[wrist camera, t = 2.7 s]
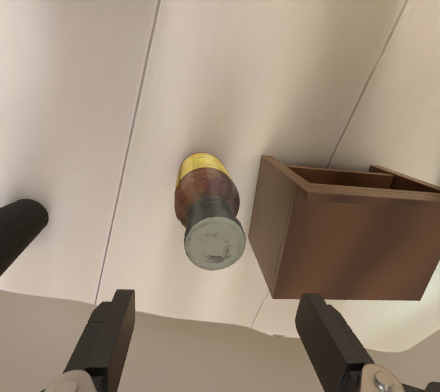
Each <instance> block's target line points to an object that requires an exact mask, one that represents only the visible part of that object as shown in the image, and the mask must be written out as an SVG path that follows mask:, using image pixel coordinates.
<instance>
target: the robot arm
mask: <svg viewBox="0 0 440 392" xmlns="http://www.w3.org/2000/svg"><path fill="white" fill-rule="evenodd" d="M134 323H135V290H125V289H117V290H116V292H115V295H114V297H113V300H112V302H102V303H101V304H100V305H99V306H98V307H97V308H96V309H95V310H94V311H93V312H92V314H91V316H90V318H89V321H88V324H87V325H86V327H85V329H84V332H83V333H82V335H81V337H80V339H79V341H78V343H77V345H76V348H75V350H74V352H73V354H72V356H71V358H70V360H69V362H68V364H67V366H66V368H65V370H64V372H63V373H62V375H60V376H58V377H57V378H56V379H54V380H53V381H52V382H51V383H50V384H49V385H48V387H47V388H46V389H45V390H43V391H41V392H117V389H118V386H119V382H120V378H121V374H122V371H123V367H124V363H125V359H126V356H127V352H128V348H129V344H130V341H131V337H132V333H133V329H134ZM295 323H296V329H297V331H298V334H299V336H300V338H301V340H302V343H303V345H304V347H305V349H306V351H307V354H308V356H309V358H310V360H311V362H312V365H313V367H314V369H315V371H316V374H317V376H318V378H319V380H320V383H321V385H322V387H323V389H324V391H325V392H440V383H439V382H431V383H429V384H428V385H427V387H426V389H425V390H422V389H418V388H415V387H412V386H409V385H405V384H402V383H401V382H400V381H399V380H398V379H397V377H396V376H394V374H392V373H391V372H390V371H388V370H387V369H386V368H384V367H382V366H379V365H377V364H375V363H374V361H373V360H372V358H371V357H370V356H369V354H368V353H367V351H366V350H365V348H364V347H363V345H362V344H361V343H360V341H359V340H358V338H357V337H356V335H355V334H354V333H353V332H352V330H351V328H350V327H349V325H347V322H346V321H345V319H344V318H343V317H342V315H341V314H340V313H339V312H338V311H337V310H336V309H335V308H334V307H332V306H331V305H327V304H326V302H325V301H324V299H323V298H322V296H321V295H320V294H318V293H303V294H302V295H301V299H300V302H299V306H298V310H297V314H296V318H295Z"/></svg>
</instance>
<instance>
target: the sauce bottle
mask: <svg viewBox="0 0 440 392" xmlns="http://www.w3.org/2000/svg"><path fill="white" fill-rule="evenodd" d="M239 205H240V199H239V194H238V191H237V188H236V186H235V184H234V183H233V181H232V179H231V178H230V176H229V175H228V173H227V171H226V170H225V168H224V166H223V165H222V163H221V162H220V161H219V160H218V159H217V158H216V157H214V156H213V155H210V154H208V153H194V154H193V155H191V156H189V157H188V158H187V159H186V160H184V162H183V163H182V164H181V166H180V169H179V172H178V177H177V183H176V190H175V213H176V216H177V218H178V220H180V221H181V223H182V225H183V226H184V227H185V228H186V231H185V238H184V246H185V251H186V254H187V256H188V257H189V259H190V261H191V262H192V263H194V264H195V265H196V266H198V267H200V268H202V269H206V270H212V271H213V270H220V269H223V268H226V267H228V266H230V265H232V264H234V263H235V262H236V261H237V260H239V258H240V257H241V256H242V254H243V251H244V249H245V240H246V238H245V234H244V231H243V228H242V226H241V223H240V222H239V220H238V219H237V218H236V215H237V213H238V210H239Z"/></svg>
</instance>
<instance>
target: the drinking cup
mask: <svg viewBox="0 0 440 392" xmlns="http://www.w3.org/2000/svg"><path fill="white" fill-rule="evenodd" d="M47 223H48V213H47V211H46V209H45V208H44V207H43V206H42V205H41V204H39V203H38V202H36V201H33V200H29V199H21V200H18V201H16V202H13V203H11V204H8V205H6V206H4V207H1V208H0V276H1V275H2V274H3V273H4V272H5V271H6V269H7V268H8V267H9V266H10V265H11V264H12V263H13V262H14V261H15V259H16V258H17V257H18V256H19V255H20V254H21V253H22V252H23V251H24V249H25V248H26V247H27V246H28V245H29V244H30V243H31V242H32V241H33V239H34V238H35V237H36V236H37V235H38V234H39V233H40V232H41V231H42V230H43V228H44V227H45V226H46V225H47Z"/></svg>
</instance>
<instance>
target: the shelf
mask: <svg viewBox="0 0 440 392" xmlns="http://www.w3.org/2000/svg"><path fill="white" fill-rule="evenodd" d="M248 239H249V241H250V243H251V246H252V248H253V251H254V253H255V256H256V258H257V261H258V263H259V266H260V268H261V271H262V273H263V276H264V278H265V281H266V283H267V286H268V288H269V291H270V293H271V296H272V298H273V299H301V295H302V294H303V293H318V294H320V295H321V296H322V298H323V299H333V300H410V301H420V300H421V298H422V296H423V294H424V292H425V289H426V287H427V285H428V283H429V281H430V279H431V277H432V275H433V273H434V271H435V269H436V267H437V265H438V262H439V260H440V187H438V186H435V185H432V184H429V183H427V182H424V181H421V180H418V179H415V178H412V177H409V176H407V175H404V174H401V173H398V172H395V171H392V170H389V169H387V168H384V167H381V166H373V165H371V166H370V169H369V172H360V171H348V170H336V169H324V168H313V167H301V166H289V165H283V164H282V163H281V162H279V161H278V160H276V159H275V158H274V157H272V156H262V157H261V163H260V169H259V176H258V182H257V188H256V194H255V200H254V206H253V212H252V218H251V224H250V230H249V236H248Z"/></svg>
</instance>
